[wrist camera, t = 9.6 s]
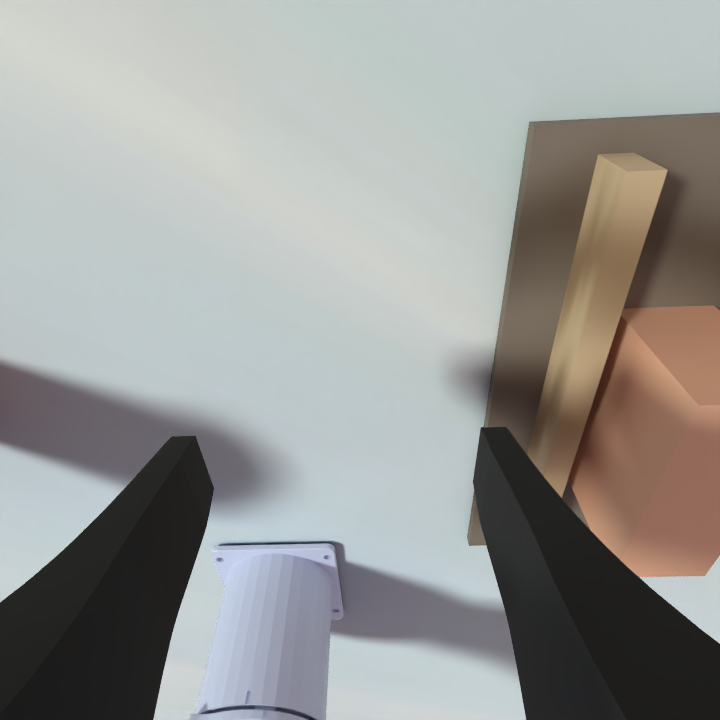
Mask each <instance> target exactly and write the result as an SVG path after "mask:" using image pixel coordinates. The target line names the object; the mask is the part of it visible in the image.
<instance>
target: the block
mask: <svg viewBox="0 0 720 720" xmlns="http://www.w3.org/2000/svg"><path fill="white" fill-rule="evenodd" d="M568 480H569V483H570V485H571V487H572V489H573V492H574V494H575V496H576V498H577V501H578V503H579V505H580V507H581V510H582V512H583V514H584V517H585V519H586V521H587V523H588V526H589V528H590V530H591V531H592V532H593V533H594V534H595V535H596V536H597V537H598V539H599V540H600V541H601V542H602V543H603V544H604V545H605V546H606V547H607V548H608V549H609V550H610V551H611V552H612V553H613V554H615V555H616V556H617V557H618V558H619V559H620V560H621V561H622V562H623V563H624V564H625V565H626V566H627V567H628V568H629V569H630V570H631V571H633V572H634V573H635V574H636V575H637V576H638V577H663V576H705V575H706V573H707V572H708V571H709V569H710V568H711V567H712V565H713V564H714V562H715V561H716V560H717V558H718V557H719V555H720V310H719V309H718V308H716V307H715V306H686V307H656V308H626V309H623V310H622V313H621V316H620V319H619V323H618V326H617V329H616V332H615V335H614V338H613V341H612V344H611V347H610V350H609V353H608V357H607V360H606V363H605V366H604V369H603V372H602V375H601V378H600V381H599V384H598V387H597V391H596V394H595V397H594V400H593V403H592V406H591V409H590V412H589V415H588V418H587V421H586V425H585V428H584V431H583V434H582V437H581V440H580V443H579V446H578V449H577V452H576V455H575V459H574V462H573V465H572V468H571V471H570V474H569V477H568Z"/></svg>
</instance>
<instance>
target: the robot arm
mask: <svg viewBox="0 0 720 720" xmlns="http://www.w3.org/2000/svg"><path fill="white" fill-rule="evenodd" d="M473 484H474V490H475V497H476V503H477V509H478V514H479V520H480V524H481V527H482V531H483V534H484V538H485V542H486V545H487V549H488V552H489V556H490V559H491V562H492V566H493V569H494V573H495V576H496V580H497V583H498V587H499V590H500V594H501V597H502V601H503V604H504V608H505V612H506V616H507V620H508V624H509V628H510V633H511V638H512V644H513V649H514V654H515V659H516V664H517V670H518V675H519V681H520V686H521V692H522V698H523V703H524V709H525V714H526V720H720V644H719V643H718V642H717V641H715V640H714V639H713V638H711V637H710V636H709V635H707V634H706V633H705V632H703V631H702V630H701V629H700V628H698V627H697V626H696V625H695V624H694V623H692V622H691V621H690V620H689V619H688V618H686V617H685V616H684V615H683V614H681V613H680V612H679V611H678V610H677V609H675V608H674V607H673V606H672V605H671V604H669V603H668V602H667V601H666V600H664V599H663V598H662V597H661V596H660V595H658V594H657V593H656V592H655V591H654V590H652V589H651V588H650V587H649V586H648V585H647V584H646V583H645V582H644V581H642V580H641V579H640V578H639V577H638V576H637V575H636V574H635V573H634V572H633V571H631V570H630V569H629V568H628V567H627V566H626V565H625V564H624V563H623V562H622V561H621V560H620V559H619V558H618V557H617V556H616V555H615V554H613V553H612V552H611V551H610V550H609V549H608V548H607V547H606V546H605V545H604V544H603V543H602V542H601V541H600V540H599V539H598V537H597V536H596V535H595V534H594V533H593V532H592V531H591V530H590V529H589V528H588V527H587V526H586V525H585V524H584V523H583V522H582V520H581V519H580V518H579V517H578V516H577V515H576V514H575V513H574V512H573V511H572V509H571V508H570V507H569V506H568V505H567V504H566V503H565V501H564V500H563V499H562V498H561V497H560V495H559V494H558V493H557V492H556V491H555V489H554V488H553V487H552V486H551V485H550V483H549V482H548V481H547V480H546V479H545V477H544V476H543V475H542V474H541V472H540V471H539V470H538V468H537V467H536V466H535V465H534V463H533V462H532V461H531V459H530V458H529V457H528V455H527V454H526V453H525V451H524V450H523V449H522V447H521V446H520V444H519V443H518V442H517V440H516V439H515V437H514V436H513V435H512V433H511V432H510V430H509V429H508V428H506V427H481V430H480V437H479V444H478V451H477V458H476V465H475V472H474V479H473ZM213 490H214V487H213V484H212V482H211V479H210V476H209V473H208V470H207V468H206V465H205V462H204V459H203V456H202V453H201V451H200V448H199V445H198V442H197V439H196V436H177V437H171V438H170V439H169V440H168V441H167V442H166V443H165V444H164V446H163V447H162V448H161V449H160V450H159V451H158V452H157V453H156V454H155V455H154V457H153V458H152V459H151V460H150V461H149V462H148V463H147V464H146V466H145V467H144V468H143V469H142V470H141V471H140V472H139V473H138V474H137V476H136V477H135V478H134V479H133V480H132V481H131V482H130V483H129V484H128V485H127V486H126V488H125V489H124V490H123V491H122V492H121V493H120V494H119V495H118V496H117V497H116V498H115V499H114V500H113V501H112V502H111V504H110V505H109V506H108V507H107V508H106V509H105V510H104V511H103V512H102V513H101V514H100V515H99V516H98V517H97V518H96V519H95V520H94V521H93V522H92V523H91V524H90V525H89V526H88V527H87V528H86V529H85V530H84V531H83V532H82V533H81V534H80V535H79V536H78V537H77V538H76V539H75V540H74V541H73V542H71V543H70V544H69V545H68V546H67V547H66V548H65V549H64V550H63V551H62V552H61V553H60V554H58V555H57V556H56V557H55V558H54V559H53V560H52V561H51V562H49V563H48V564H47V565H46V566H45V567H44V568H42V569H41V570H40V571H39V572H38V573H37V574H35V575H34V576H33V577H32V578H31V579H30V580H28V581H27V582H26V583H25V584H23V585H22V586H21V587H20V588H18V589H17V590H16V591H14V592H13V593H12V594H11V595H9V596H8V597H7V598H6V599H4V600H3V601H2V602H0V720H153V718H154V713H155V708H156V703H157V699H158V694H159V689H160V684H161V679H162V675H163V670H164V666H165V662H166V657H167V653H168V649H169V644H170V640H171V636H172V632H173V628H174V625H175V621H176V618H177V614H178V611H179V608H180V605H181V602H182V599H183V596H184V593H185V590H186V587H187V584H188V581H189V578H190V575H191V572H192V569H193V566H194V563H195V560H196V557H197V554H198V551H199V548H200V545H201V542H202V539H203V536H204V533H205V529H206V526H207V521H208V517H209V512H210V507H211V501H212V496H213ZM211 556H212V558H213V561H214V563H215V566H216V568H217V570H218V573H219V575H220V578H221V580H222V583H223V585H224V587H225V589H224V593H223V597H222V601H221V606H220V610H219V614H218V618H217V622H216V626H215V630H214V635H213V639H212V643H211V647H210V651H209V655H208V660H207V664H206V668H205V672H204V676H203V680H202V684H201V689H200V693H199V697H198V701H197V705H196V709H195V713H194V714H190V716H189V720H326V705H327V686H328V667H329V648H330V630H331V621H337V620H342V619H343V617H344V611H343V604H342V597H341V589H340V582H339V574H338V567H337V560H336V552H335V547H334V546H333V545H332V544H327V543H324V544H279V545H234V546H215V547H213V549H212V552H211Z"/></svg>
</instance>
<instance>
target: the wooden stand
mask: <svg viewBox="0 0 720 720" xmlns="http://www.w3.org/2000/svg"><path fill="white" fill-rule="evenodd" d="M686 306H715V307H716V308H718V309H719V310H720V113H701V114H681V115H660V116H640V117H620V118H600V119H580V120H560V121H539V122H529V129H528V135H527V142H526V149H525V155H524V162H523V169H522V175H521V182H520V189H519V195H518V202H517V209H516V215H515V222H514V229H513V235H512V242H511V249H510V256H509V262H508V269H507V276H506V282H505V289H504V296H503V302H502V309H501V316H500V322H499V329H498V336H497V342H496V349H495V356H494V362H493V369H492V376H491V382H490V389H489V396H488V403H487V409H486V416H485V423H484V427H506V428H508V429H509V430H510V432H511V433H512V435H513V436H514V437H515V439H516V440H517V442H518V443H519V444H520V446H521V447H522V449H523V450H524V451H525V453H526V454H527V455H528V457H529V458H530V459H531V461H532V462H533V463H534V465H535V466H536V467H537V468H538V470H539V471H540V472H541V474H542V475H543V476H544V477H545V479H546V480H547V481H548V482H549V483H550V485H551V486H552V487H553V488H554V489H555V491H556V492H557V493H558V494H559V495H560V497H561V498H562V499H563V500H564V501H565V503H566V504H567V505H568V506H569V507H570V508H571V509H572V511H573V512H574V513H575V514H576V515H577V516H578V517H579V518H580V519H581V520H582V522H583V523H584V524H585V525H586V526H587V527H588V528H589V526H588V523H587V521H586V519H585V517H584V514H583V512H582V510H581V507H580V505H579V503H578V501H577V498H576V496H575V494H574V492H573V489H572V487H571V485H570V483H569V480H568V477H569V474H570V471H571V468H572V465H573V462H574V459H575V455H576V452H577V449H578V446H579V443H580V440H581V437H582V434H583V431H584V428H585V425H586V421H587V418H588V415H589V412H590V409H591V406H592V403H593V400H594V397H595V394H596V391H597V387H598V384H599V381H600V378H601V375H602V372H603V369H604V366H605V363H606V360H607V357H608V353H609V350H610V347H611V344H612V341H613V338H614V335H615V332H616V329H617V326H618V323H619V319H620V316H621V313H622V310H623V309H626V308H656V307H686ZM589 529H590V528H589ZM467 538H468V543H469V546H473V545H486V542H485V538H484V534H483V531H482V527H481V524H480V520H479V514H478V509H477V503H476V497H475V490H474V496H473V503H472V509H471V516H470V523H469V529H468V536H467Z"/></svg>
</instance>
